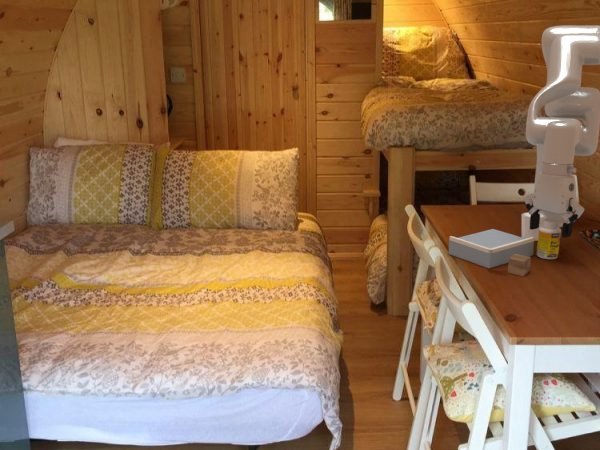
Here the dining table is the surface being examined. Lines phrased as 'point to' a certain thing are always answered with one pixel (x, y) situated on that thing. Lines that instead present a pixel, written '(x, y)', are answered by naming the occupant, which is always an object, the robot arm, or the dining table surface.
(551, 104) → the robot arm
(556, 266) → the dining table surface
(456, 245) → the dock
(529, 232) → the white cup
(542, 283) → the dining table surface
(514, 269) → the light brown cube
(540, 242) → the supplement bottle
